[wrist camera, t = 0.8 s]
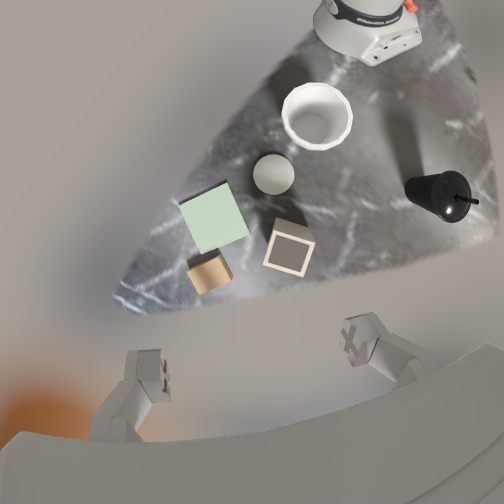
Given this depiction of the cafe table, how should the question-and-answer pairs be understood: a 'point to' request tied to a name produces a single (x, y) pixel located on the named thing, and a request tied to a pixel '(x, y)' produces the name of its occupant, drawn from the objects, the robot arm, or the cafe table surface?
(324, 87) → the foam cup
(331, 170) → the cafe table surface
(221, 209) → the mat
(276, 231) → the canister
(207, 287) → the oak block
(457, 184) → the drinking cup
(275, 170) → the white pebble stone
